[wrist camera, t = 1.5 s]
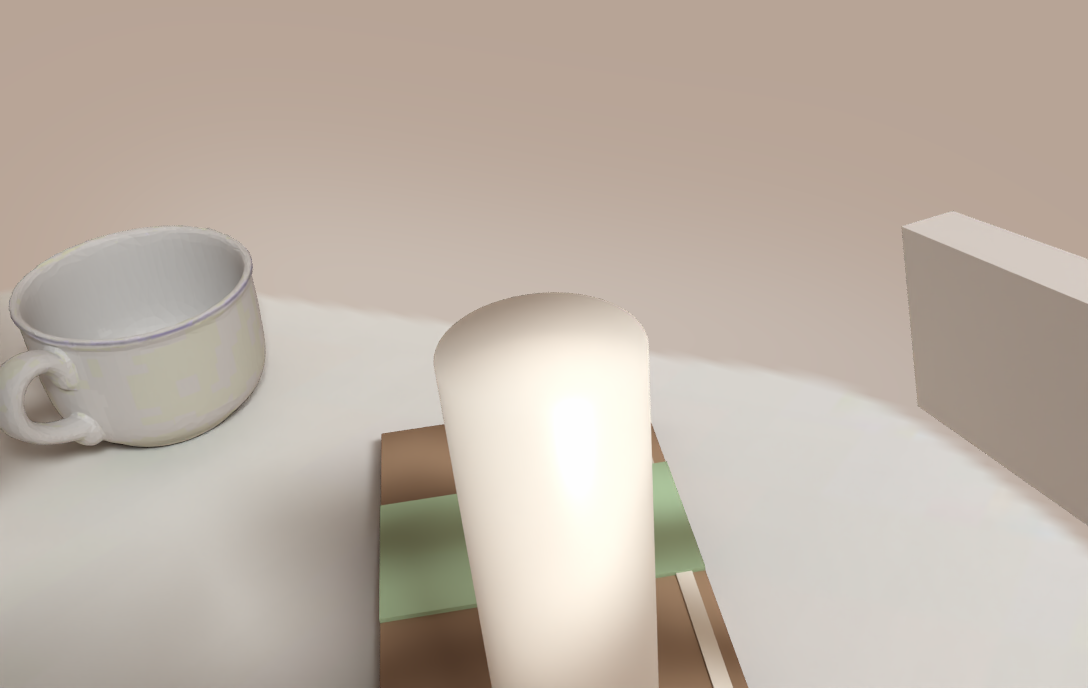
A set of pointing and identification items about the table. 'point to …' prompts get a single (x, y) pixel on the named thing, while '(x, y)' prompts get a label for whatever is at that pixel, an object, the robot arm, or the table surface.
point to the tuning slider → (555, 488)
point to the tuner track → (448, 593)
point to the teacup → (136, 338)
